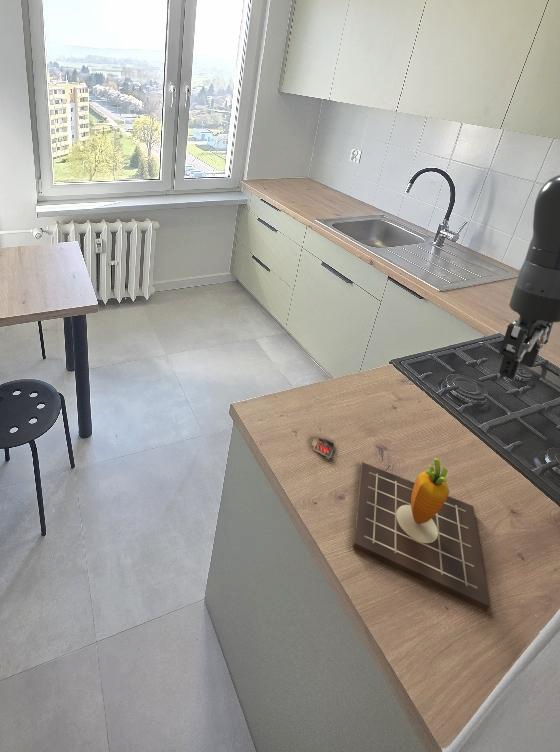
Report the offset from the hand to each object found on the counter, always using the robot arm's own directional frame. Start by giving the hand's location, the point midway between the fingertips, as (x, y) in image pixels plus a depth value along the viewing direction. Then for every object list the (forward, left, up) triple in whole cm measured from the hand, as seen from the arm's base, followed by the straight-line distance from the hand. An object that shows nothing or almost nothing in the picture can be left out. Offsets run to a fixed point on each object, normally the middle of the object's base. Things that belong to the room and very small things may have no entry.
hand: (516, 370), depth 77 cm
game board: (+10, +18, -28) cm, 35 cm away
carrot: (+10, +18, -26) cm, 34 cm away
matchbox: (+28, +8, -28) cm, 41 cm away
